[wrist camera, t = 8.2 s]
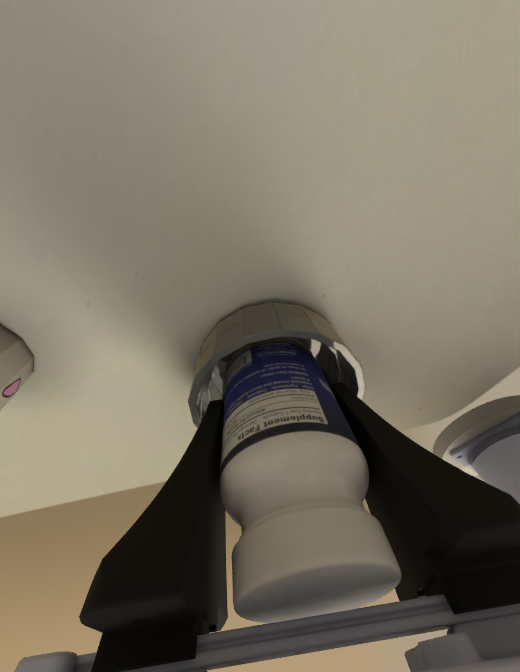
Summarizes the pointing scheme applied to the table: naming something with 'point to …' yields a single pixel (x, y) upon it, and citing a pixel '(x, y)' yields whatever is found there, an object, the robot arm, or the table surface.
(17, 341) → the cup
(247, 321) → the bowl
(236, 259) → the table surface
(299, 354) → the pill bottle
